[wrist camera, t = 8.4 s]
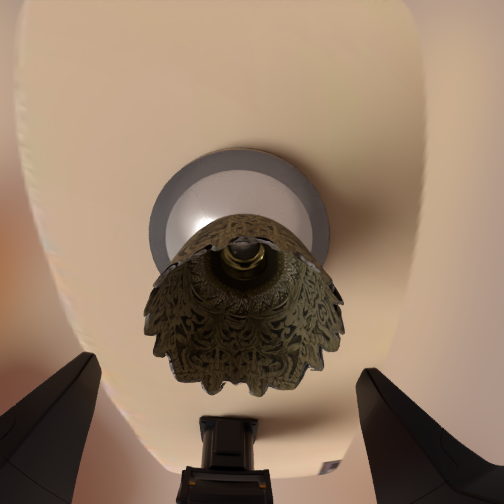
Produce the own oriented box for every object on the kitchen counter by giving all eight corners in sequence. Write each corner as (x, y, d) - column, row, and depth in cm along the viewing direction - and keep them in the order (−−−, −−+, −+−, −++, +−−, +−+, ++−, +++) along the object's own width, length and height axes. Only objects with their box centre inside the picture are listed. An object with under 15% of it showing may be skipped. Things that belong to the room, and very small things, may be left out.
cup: (319, 196, 16) (377, 263, 9) (291, 302, 19) (313, 401, 12) (186, 177, 15) (136, 232, 8) (179, 289, 18) (150, 387, 11)
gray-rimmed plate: (308, 309, 21) (312, 319, 20) (160, 300, 20) (156, 311, 19) (337, 158, 16) (344, 161, 15) (152, 145, 15) (145, 147, 14)
